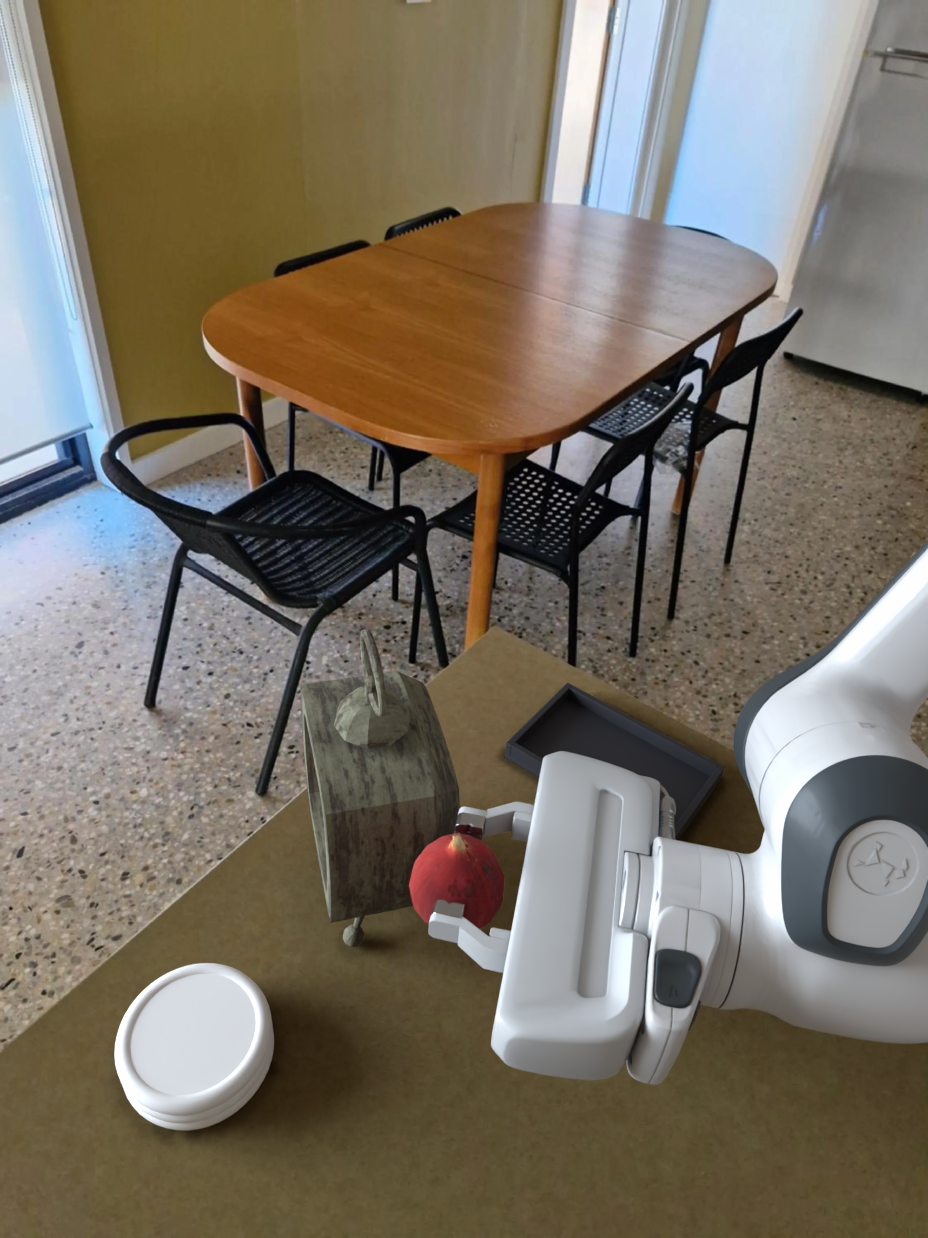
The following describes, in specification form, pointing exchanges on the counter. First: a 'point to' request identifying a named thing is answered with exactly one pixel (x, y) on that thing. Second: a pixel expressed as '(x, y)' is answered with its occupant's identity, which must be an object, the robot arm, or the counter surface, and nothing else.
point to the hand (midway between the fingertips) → (444, 868)
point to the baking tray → (616, 748)
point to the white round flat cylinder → (194, 1046)
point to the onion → (458, 878)
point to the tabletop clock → (374, 786)
